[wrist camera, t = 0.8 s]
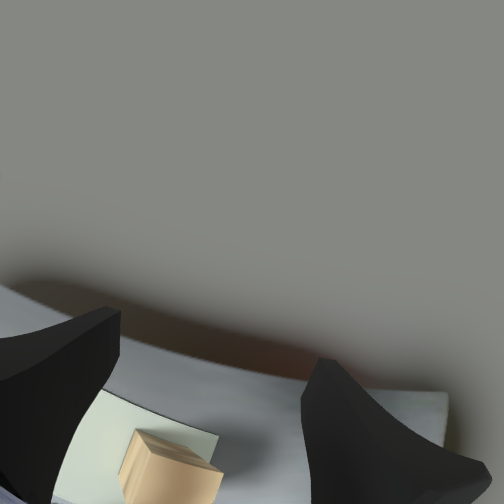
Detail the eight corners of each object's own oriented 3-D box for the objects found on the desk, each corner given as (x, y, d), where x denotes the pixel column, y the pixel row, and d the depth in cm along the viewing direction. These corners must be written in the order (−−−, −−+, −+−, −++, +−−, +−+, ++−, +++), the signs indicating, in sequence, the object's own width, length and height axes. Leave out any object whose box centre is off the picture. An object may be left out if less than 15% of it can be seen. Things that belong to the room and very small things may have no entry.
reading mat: (217, 435, 24) (219, 436, 23) (180, 534, 17) (181, 535, 17) (53, 362, 19) (53, 362, 19) (16, 472, 13) (15, 473, 13)
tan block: (187, 447, 22) (224, 473, 15) (171, 491, 19) (202, 530, 13) (134, 428, 20) (151, 453, 14) (117, 474, 18) (129, 514, 11)
